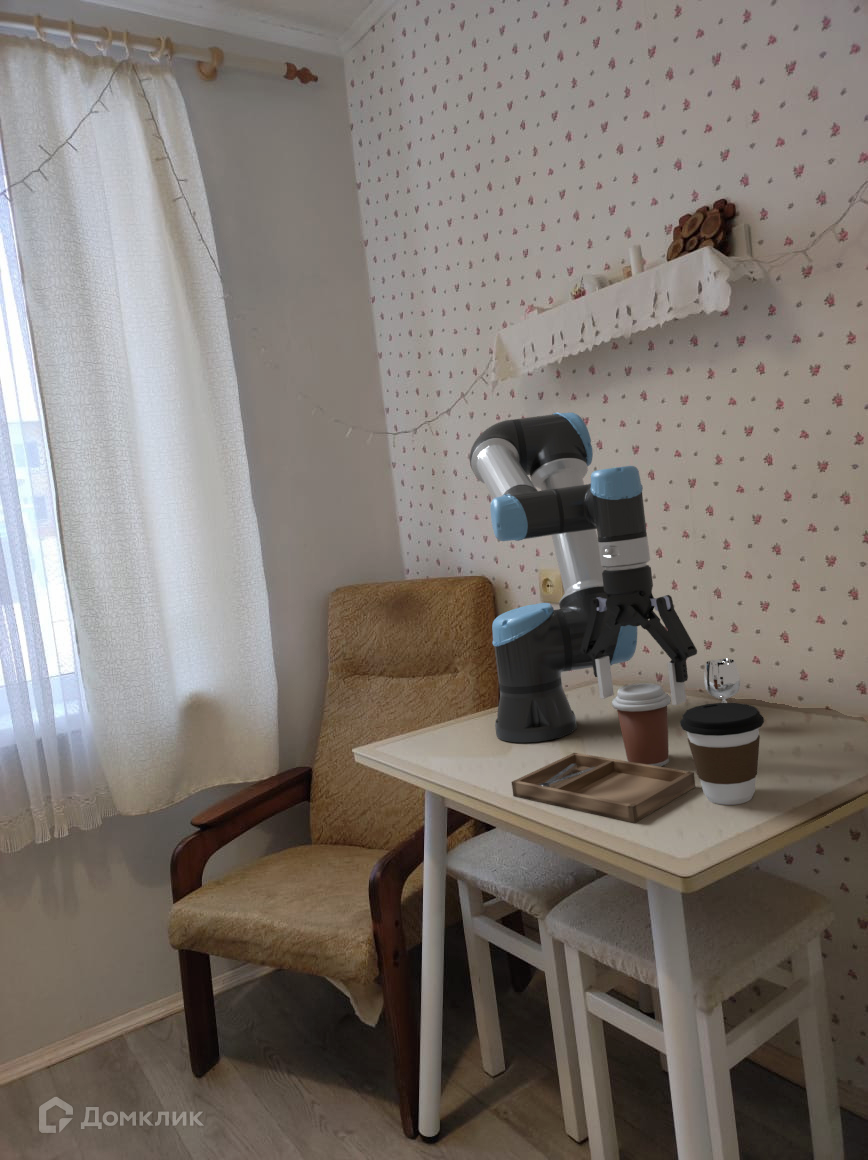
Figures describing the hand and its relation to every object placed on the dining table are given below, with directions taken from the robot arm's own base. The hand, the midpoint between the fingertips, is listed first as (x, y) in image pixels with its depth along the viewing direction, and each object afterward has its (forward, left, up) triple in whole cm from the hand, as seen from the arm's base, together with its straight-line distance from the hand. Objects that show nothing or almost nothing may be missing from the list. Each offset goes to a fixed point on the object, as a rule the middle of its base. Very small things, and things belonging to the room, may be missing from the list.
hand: (641, 699), depth 141 cm
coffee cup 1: (0, 0, -10) cm, 10 cm away
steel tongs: (-6, -14, -10) cm, 18 cm away
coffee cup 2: (+18, -7, -10) cm, 22 cm away
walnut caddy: (+1, -14, -10) cm, 17 cm away
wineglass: (+3, +19, -10) cm, 22 cm away
